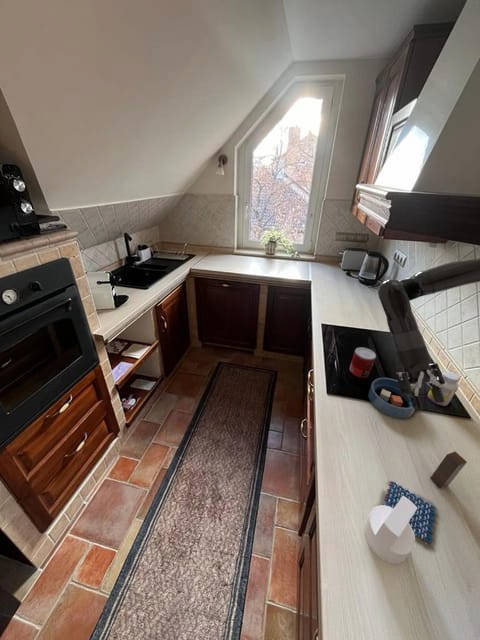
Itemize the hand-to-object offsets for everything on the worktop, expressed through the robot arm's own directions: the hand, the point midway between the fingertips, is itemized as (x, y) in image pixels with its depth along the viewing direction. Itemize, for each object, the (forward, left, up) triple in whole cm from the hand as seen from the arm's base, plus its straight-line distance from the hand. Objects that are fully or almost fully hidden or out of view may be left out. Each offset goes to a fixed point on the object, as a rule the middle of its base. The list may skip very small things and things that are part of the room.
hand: (429, 405), depth 69 cm
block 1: (+7, -19, -19) cm, 28 cm away
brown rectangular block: (-8, +7, -20) cm, 22 cm away
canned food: (+16, -31, -20) cm, 40 cm away
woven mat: (0, +19, -20) cm, 28 cm away
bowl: (+4, -19, -20) cm, 27 cm away
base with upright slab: (+5, +28, -20) cm, 35 cm away
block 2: (+3, -18, -19) cm, 27 cm away
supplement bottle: (-12, -29, -20) cm, 37 cm away
